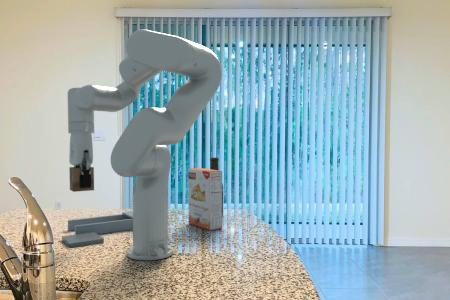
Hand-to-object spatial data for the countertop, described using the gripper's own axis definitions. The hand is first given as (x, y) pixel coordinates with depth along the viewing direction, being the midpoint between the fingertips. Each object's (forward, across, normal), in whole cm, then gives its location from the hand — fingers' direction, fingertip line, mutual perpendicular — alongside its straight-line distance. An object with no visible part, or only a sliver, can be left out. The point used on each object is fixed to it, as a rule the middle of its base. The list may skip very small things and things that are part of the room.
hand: (82, 186), depth 120 cm
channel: (+17, -12, +12) cm, 24 cm away
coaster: (+17, 0, 0) cm, 17 cm away
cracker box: (+18, +4, +42) cm, 46 cm away
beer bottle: (+18, -11, +56) cm, 60 cm away
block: (+1, 0, 0) cm, 1 cm away
